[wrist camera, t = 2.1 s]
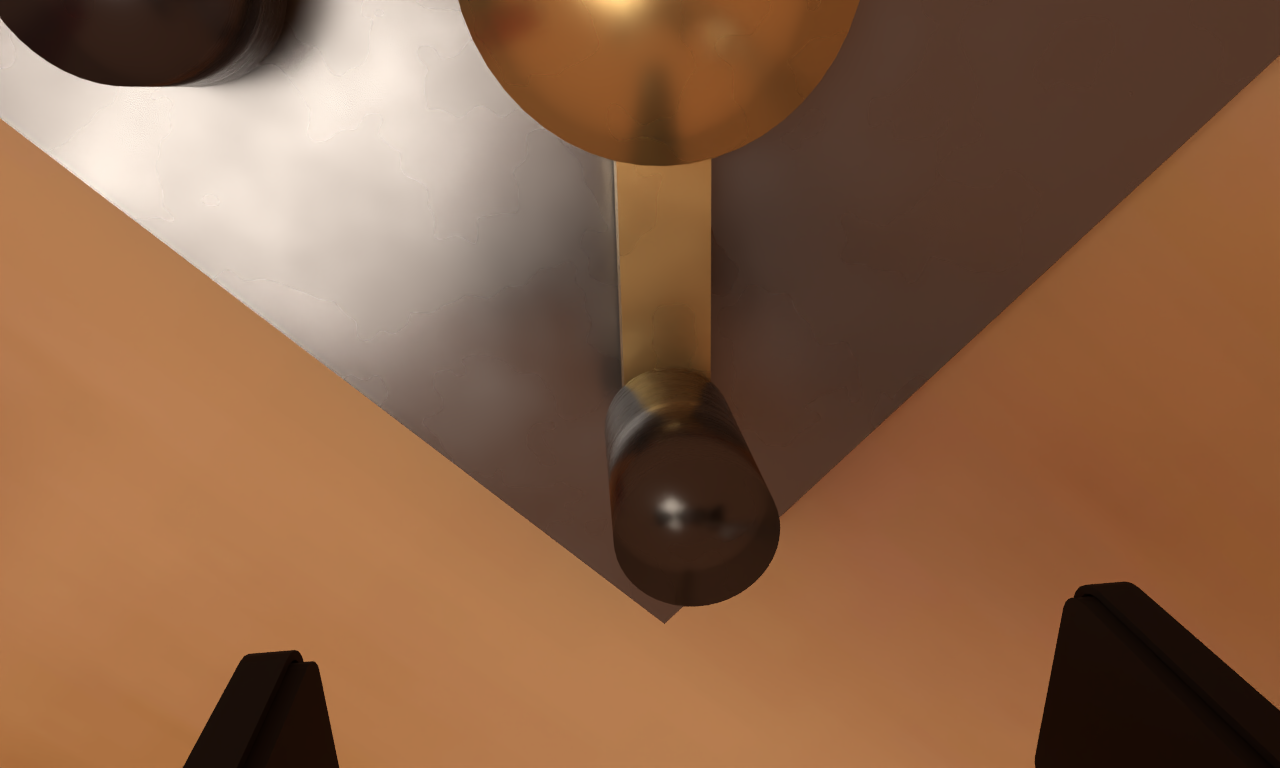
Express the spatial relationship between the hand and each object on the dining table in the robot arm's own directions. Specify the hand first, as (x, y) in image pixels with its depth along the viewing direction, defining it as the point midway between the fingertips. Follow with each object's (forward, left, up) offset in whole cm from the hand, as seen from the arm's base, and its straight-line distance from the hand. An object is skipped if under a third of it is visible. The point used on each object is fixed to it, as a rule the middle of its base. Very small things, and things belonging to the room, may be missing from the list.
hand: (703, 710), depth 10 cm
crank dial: (+4, -5, -11) cm, 13 cm away
